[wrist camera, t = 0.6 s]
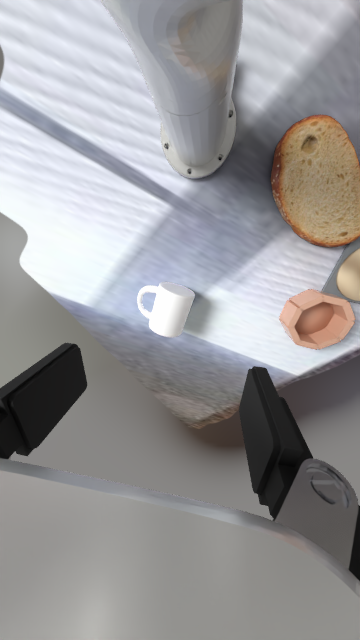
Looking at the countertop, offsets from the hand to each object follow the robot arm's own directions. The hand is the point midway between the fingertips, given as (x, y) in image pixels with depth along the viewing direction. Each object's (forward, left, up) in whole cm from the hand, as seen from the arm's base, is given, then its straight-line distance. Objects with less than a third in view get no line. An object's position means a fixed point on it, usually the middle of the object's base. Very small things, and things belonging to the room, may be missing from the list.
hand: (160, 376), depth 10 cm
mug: (+8, -6, -34) cm, 36 cm away
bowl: (+3, +26, -34) cm, 43 cm away
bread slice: (-19, +17, -34) cm, 43 cm away
